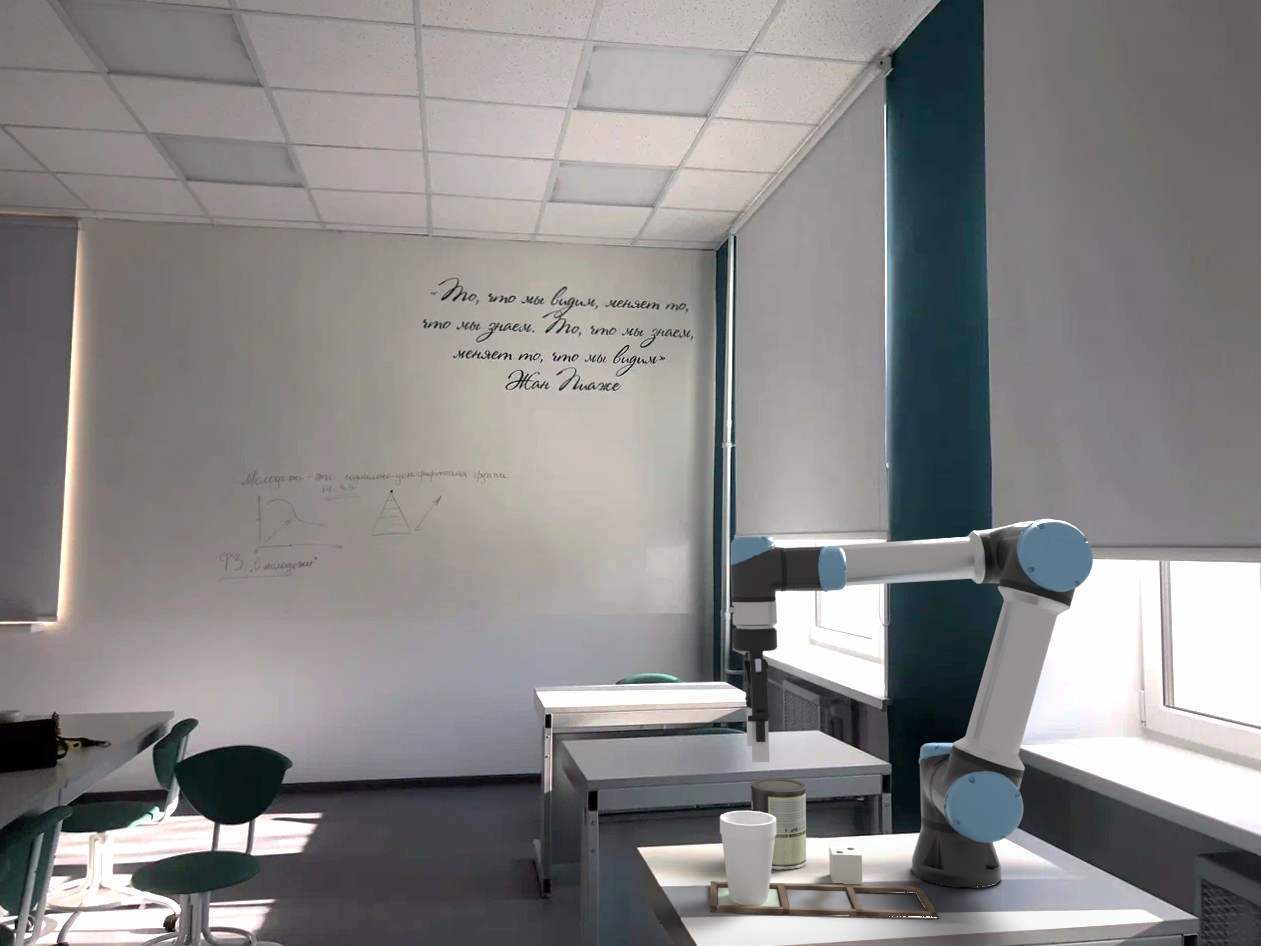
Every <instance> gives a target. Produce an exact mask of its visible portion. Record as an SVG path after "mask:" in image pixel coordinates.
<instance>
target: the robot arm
mask: <svg viewBox="0 0 1261 946" xmlns="http://www.w3.org/2000/svg"><path fill="white" fill-rule="evenodd" d="M1093 554H1094V553H1093V550H1092V547H1091V544H1090V542H1089V541H1088V539H1087V537H1086V536H1085V534H1084V533H1083V532H1082V531H1081V530H1080V529H1078V528H1077V527H1076V526H1074V525H1072V524H1071V523H1069V522H1066V521H1063V520H1056V519H1051V518H1042V519H1037V520H1035V521H1034V520H1033V521H1032V520H1031V521H1022V522H1017V523H1014V524H1009V525H1006V526H1001V527H996V528H990V529H983V530H982V529H981V530H973V531H971V532H970V533H969V534H968V535H967V536H962V537H950V538H948V537H946V538H944V537H943V538H932V539H931V538H930V539H918V540H917V539H916V540H914V539H913V540H901V541H885V542H884V541H883V542H882V541H881V542H871V543H869V542H868V543H856V544H855V543H854V544H853V543H851V544H839V545H829V546H827V545H821V546H798V547H797V546H796V547H778V546H776V544H775V539H774V537H772V536H768V535H766V536H737V537H736V538H734V539H733V540H732V541H731V543H730V563H729V564H730V582H731V583H730V584H731V588H730V589H731V601H732V602H731V605H732V606H731V607H729V608H728V612H729V614H732V624H733V625H734V626H736V627H735V628H733V629H732V648H733V649H734V651H738V652H745V653H744V656H745V660H742V663H743V671H744V681H745V697H744V698H745V699H744V700H745V705H746V708H745V710H746V711H745V712H746V738H747V739H746V741H747V747H751V760H752V761H751V762H752V763H770V741H769V740H770V738H769V736H770V734H769V733H770V732H769V718H770V713H769V703H768V702H769V699H768V681H769V679H768V671H769V663H768V661H767V660H766V658H764V653H763V652H771V651H774V650H777V647H778V631H777V629H776V627H774V626H775V625H777V623H778V621H777V620H778V619H777V618H778V616H777V613H778V612H777V601H776V600H777V598H776V597H777V596H776V592H826V593H827V592H829V591H841V590H844V588H845V587H847V586H849V587H850V586H862V585H863V586H865V585H866V586H867V585H879V584H880V585H882V584H883V585H884V584H897V583H898V584H900V583H914V582H915V583H916V582H917V583H918V582H930V581H931V582H933V581H935V582H937V581H949V580H950V581H951V580H952V581H953V580H966V579H967V580H969V579H971V580H972V581H973V582H974V583H976V584H977V585H978V584H980V585H981V584H998V586H997V589H998V591H999V593H1000V594H1001V597H1003V603H1002V606H1001V611H1000V613H999V617H998V620H997V624H996V628H995V631H994V635H993V637H992V641H991V644H990V649H989V652H988V656H987V660H986V663H985V666H984V669H983V672H982V673H983V674H982V677H981V679H980V680H981V681H980V684H979V688H978V690H977V694H976V697H975V702H974V705H973V709H972V711H971V715H970V718H969V722H968V726H967V729H966V733H965V736H964V737H963V738H960V739H959V740H956V741H954V742H930V743H924V744H923V745H921V747H920V750H919V751H920V753H919V759H918V764H919V778H920V779H919V780H920V781H919V782H920V783H919V785H920V786H919V787H920V814H921V815H920V816H921V817H920V819H921V821H920V822H921V828H920V831H919V835H918V838H917V841H916V845H915V847H914V852H913V853H912V858H911V859H912V860H911V864H912V865H911V866H912V867H911V869H912V870H911V871H912V873H913V874H914V875H915V876H916V877H918V879H922V880H923V881H925V880H926V882H928V881H929V882H928V883H931V882H932V883H931V884H935V883H936V884H935V885H941V886H944V885H945V886H944V887H950V886H952V887H951V888H959V887H977V886H978V887H982V886H988V885H992V884H995V883H997V882H999V881H1000V880H1001V881H1002V865H1001V863H1000V860H999V857H998V854H997V850H996V848H995V844H994V843H995V842H999V841H1002V840H1003V839H1006V838H1007V837H1009V836H1011V834H1013V833H1014V832H1015V831H1016V830H1017V828H1018V827H1019V825H1020V823H1021V821H1022V818H1023V815H1024V802H1023V798H1022V794H1021V792H1020V789H1021V784H1022V780H1023V775H1024V773H1025V768H1026V767H1025V766H1024V764H1023V762H1022V760H1021V758H1020V755H1019V753H1020V748H1021V746H1022V742H1023V738H1024V735H1025V732H1026V729H1027V724H1028V721H1029V717H1030V714H1031V710H1032V707H1033V704H1034V698H1035V696H1036V693H1037V689H1038V686H1039V682H1040V678H1041V676H1042V675H1041V674H1042V671H1043V668H1044V664H1045V660H1046V657H1047V653H1048V650H1049V646H1050V643H1051V639H1052V635H1053V632H1054V629H1055V625H1056V621H1057V618H1058V616H1059V615H1060V614H1062V613H1064V612H1066V611H1068V610H1070V608H1071V605H1072V602H1073V599H1074V595H1075V592H1076V588H1078V587H1080V586H1081V584H1083V583H1084V582H1085V581H1086V579H1088V577H1089V576H1090V574H1091V572H1092V568H1093V562H1094V556H1093ZM1001 881H1000V882H1001ZM1000 882H999V883H1000Z"/></svg>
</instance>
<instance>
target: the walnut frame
mask: <svg viewBox="0 0 1261 946" xmlns="http://www.w3.org/2000/svg"><path fill="white" fill-rule="evenodd" d="M709 881H710V880H709ZM709 886H710V888H709V889H710V894H709V895H710V897H709V899H710V901H709V902H710V903H709V904H710V909H709V910H710V913H724V914H725V913H727V914H728V913H733V914H761V915H764V914H765V915H767V914H769V915H789V916H790V915H793V916H821V915H849V916H848V917H853V916H863V917H862V918H885V917H889V916H890V917H892V916H893V917H897V916H898V917H900V916H901V917H903V916H906V917H908V916H922V917H923V916H924V917H926V916H930V917H931V916H932V917H939V915H938V912H937V910H936V909H935V908H934V906H933V904H932V903H931V901H930V900H929V898H928V896H927V895H926V893H925V892H924V890H923V889H922V887H920V886H890V885H889V886H888V885H887V886H886V885H884V886H883V885H860V884H822V883H821V884H818V883H788V882H787V883H785V882H784V883H783V882H779V883H777V882H770V886H769V894H768V901H767V902H765V903H764V904H759V905H742V904H738V903H735V902H733V901H732V900H730V895H729V889H728V882H727V881H717V880H716V881H715V880H714V881H710V885H709ZM846 891H847V892H846ZM865 892H869V893H870V894H873V893H874V894H884V893H883V892H905V893H907V892H908V893H909V892H913V893H914V892H915V893H917V895H918V896H919V898H920V900H921V901H920V900H919V901H920V903H921V902H922V903H923V905H924V906H925V908H926V910H927V911H926V910H902V909H901V910H898V909H897V910H895V909H893V910H892V909H867V908H866V909H865V908H864V909H863V908H862V906H861V903H860V901H859V898H858V897H857V894H856V893H865ZM876 892H877V893H876ZM847 893H848V894H847ZM869 893H868V894H869ZM917 895H916V896H917ZM849 898H850V899H849ZM919 898H918V899H919ZM851 903H852V904H851ZM922 903H921V904H922ZM923 905H922V906H923ZM924 906H923V907H924ZM853 908H854V909H853ZM925 908H924V909H925ZM864 916H866V917H864Z"/></svg>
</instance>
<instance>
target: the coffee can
mask: <svg viewBox="0 0 1261 946" xmlns="http://www.w3.org/2000/svg"><path fill="white" fill-rule="evenodd" d="M750 789H751V790H750V791H751V792H750V793H751V797H750V798H751V801H750V803H751V811H757V812H763V813H768V814H771V815H773V816H775V817H776V836H775V842H774V850H773V859H772V868H771V870H772V869H793V870H795V869H794V868H798V867H801V868H803V867H802V866H804V865H805V864H806V863H807V862H808V861H807V815H806V814H807V811H806V810H807V806H806V803H807V802H806V791H807V785H806V784H805V783H804V782H801V781H799V780H795V779H789V778H788V779H787V778H762V779H757V780H754V781H751V782H750ZM806 865H807V864H806ZM806 865H805V866H806ZM805 866H804V867H805Z"/></svg>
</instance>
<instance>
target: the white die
mask: <svg viewBox="0 0 1261 946" xmlns="http://www.w3.org/2000/svg"><path fill="white" fill-rule="evenodd" d="M828 847H829V849H828V851H829V852H828V853H829V877H830V876H831V877H830V879H831V882H832V881H833V882H832V884H833V883H846V884H845V885H861V884H862V885H863V855H862V853H861V851H860V848H859V847H858V846H838V845H837V846H836V845H835V846H833V845H829V846H828Z"/></svg>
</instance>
